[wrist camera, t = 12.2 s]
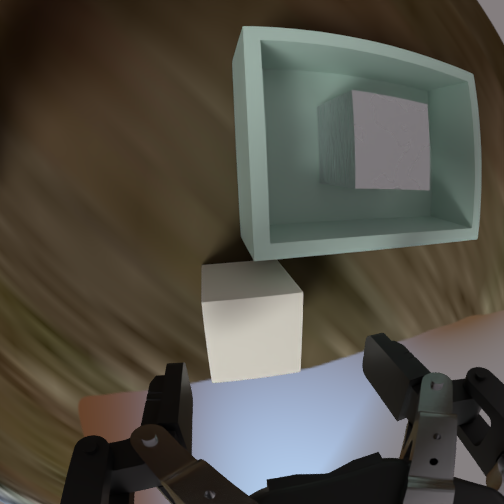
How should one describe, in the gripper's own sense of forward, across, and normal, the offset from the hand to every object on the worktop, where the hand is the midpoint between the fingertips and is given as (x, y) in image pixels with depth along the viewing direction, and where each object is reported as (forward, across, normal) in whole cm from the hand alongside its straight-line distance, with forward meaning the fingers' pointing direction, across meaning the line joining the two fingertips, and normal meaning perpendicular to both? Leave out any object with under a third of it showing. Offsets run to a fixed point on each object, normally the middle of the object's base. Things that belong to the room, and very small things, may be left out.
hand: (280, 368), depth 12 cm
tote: (+9, -7, -9) cm, 15 cm away
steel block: (+8, -7, -9) cm, 15 cm away
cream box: (+9, +1, 0) cm, 9 cm away
